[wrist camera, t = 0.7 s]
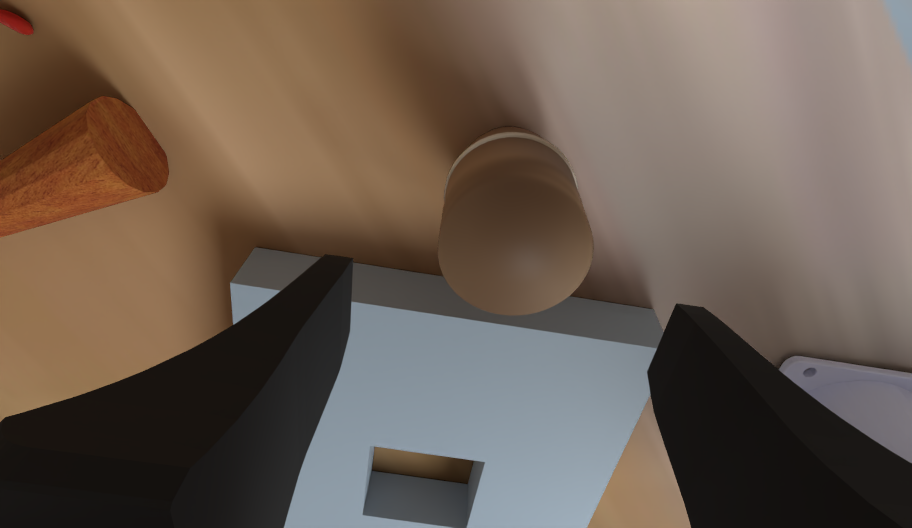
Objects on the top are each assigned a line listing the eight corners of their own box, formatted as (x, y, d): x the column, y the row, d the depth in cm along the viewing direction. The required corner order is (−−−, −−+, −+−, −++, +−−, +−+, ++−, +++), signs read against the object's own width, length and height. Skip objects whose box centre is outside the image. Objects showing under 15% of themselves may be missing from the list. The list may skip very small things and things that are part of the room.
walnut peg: (581, 118, 18) (616, 194, 13) (550, 225, 21) (571, 327, 16) (459, 97, 18) (448, 167, 13) (441, 208, 20) (426, 304, 15)
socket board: (653, 309, 22) (671, 350, 20) (538, 576, 33) (541, 621, 31) (255, 247, 22) (230, 283, 20) (268, 539, 32) (253, 583, 30)
